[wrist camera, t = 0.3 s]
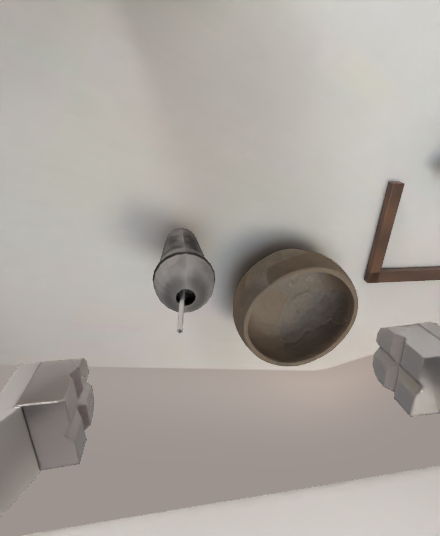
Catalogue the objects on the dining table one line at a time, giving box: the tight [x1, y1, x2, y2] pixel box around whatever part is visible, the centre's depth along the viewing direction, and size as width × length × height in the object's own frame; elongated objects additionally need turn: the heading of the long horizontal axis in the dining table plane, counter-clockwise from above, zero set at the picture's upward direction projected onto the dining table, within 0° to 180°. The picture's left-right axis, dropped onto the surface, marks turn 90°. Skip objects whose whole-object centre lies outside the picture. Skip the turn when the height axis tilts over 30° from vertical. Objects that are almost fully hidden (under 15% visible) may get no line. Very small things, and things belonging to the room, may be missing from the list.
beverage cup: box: [153, 229, 215, 333], centre depth 40 cm, size 7×7×20 cm
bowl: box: [233, 248, 358, 366], centre depth 50 cm, size 17×18×10 cm
